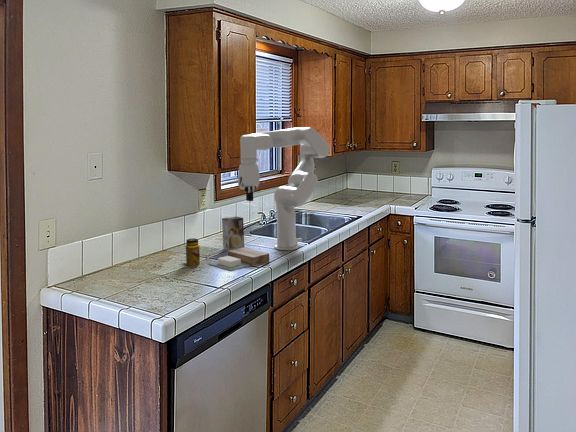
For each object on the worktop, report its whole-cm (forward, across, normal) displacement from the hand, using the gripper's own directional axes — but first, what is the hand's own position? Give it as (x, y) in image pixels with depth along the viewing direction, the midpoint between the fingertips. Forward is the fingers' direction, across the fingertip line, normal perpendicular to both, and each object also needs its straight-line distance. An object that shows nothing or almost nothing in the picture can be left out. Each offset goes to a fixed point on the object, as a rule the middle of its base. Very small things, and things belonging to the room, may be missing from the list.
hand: (249, 200), depth 258 cm
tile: (+24, +17, +5) cm, 30 cm away
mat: (+27, +17, +5) cm, 33 cm away
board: (+27, +6, +5) cm, 28 cm away
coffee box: (+27, -4, -18) cm, 33 cm away
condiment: (+27, +29, -8) cm, 41 cm away
